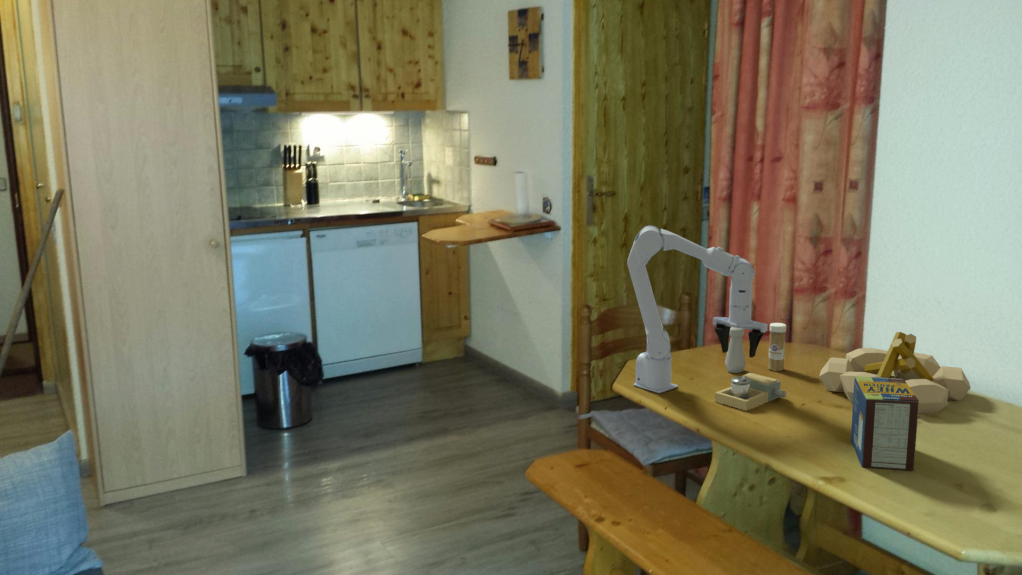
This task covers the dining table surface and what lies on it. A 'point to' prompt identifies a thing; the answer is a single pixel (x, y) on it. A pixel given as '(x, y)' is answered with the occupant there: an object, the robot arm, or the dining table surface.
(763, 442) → the dining table surface
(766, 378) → the drawer
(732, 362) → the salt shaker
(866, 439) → the protein box
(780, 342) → the sprinkles bottle
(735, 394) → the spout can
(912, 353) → the campfire
